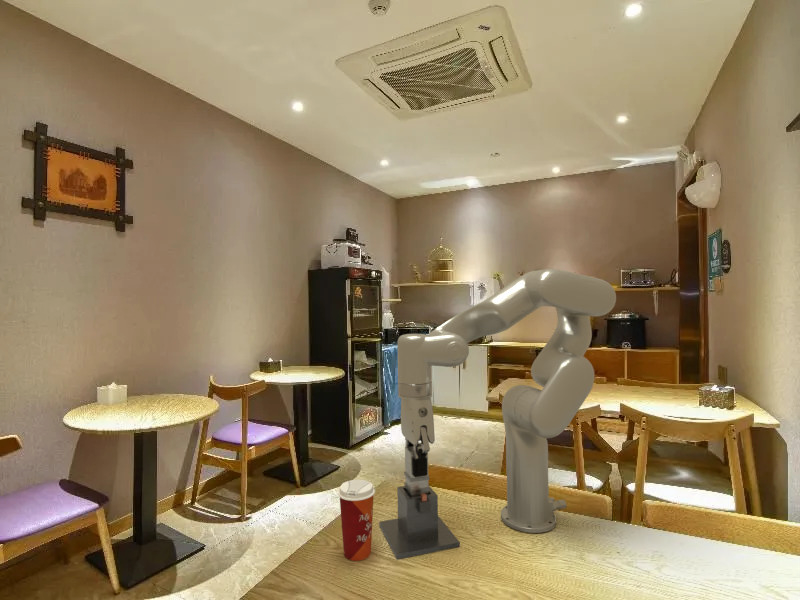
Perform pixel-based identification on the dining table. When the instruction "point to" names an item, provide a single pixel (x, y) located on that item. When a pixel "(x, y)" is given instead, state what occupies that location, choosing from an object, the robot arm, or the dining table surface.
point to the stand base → (417, 526)
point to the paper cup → (356, 518)
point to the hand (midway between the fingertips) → (416, 470)
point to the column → (413, 484)
